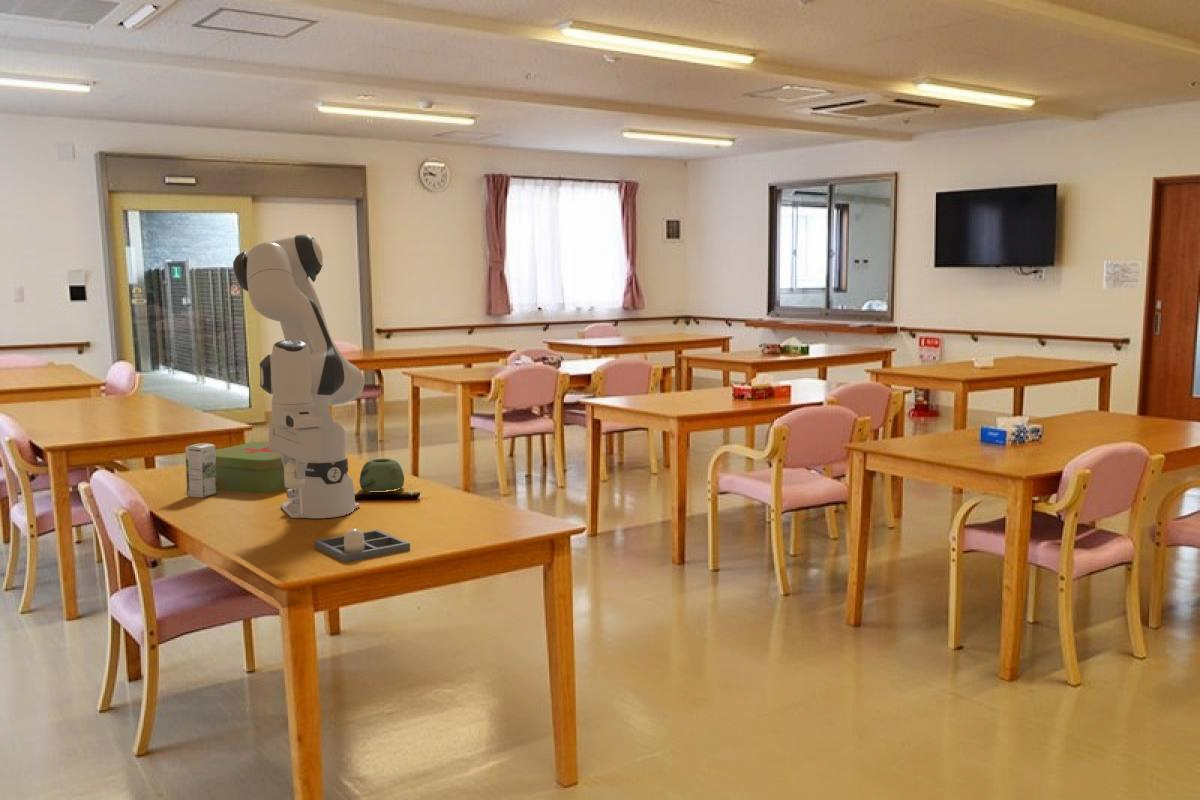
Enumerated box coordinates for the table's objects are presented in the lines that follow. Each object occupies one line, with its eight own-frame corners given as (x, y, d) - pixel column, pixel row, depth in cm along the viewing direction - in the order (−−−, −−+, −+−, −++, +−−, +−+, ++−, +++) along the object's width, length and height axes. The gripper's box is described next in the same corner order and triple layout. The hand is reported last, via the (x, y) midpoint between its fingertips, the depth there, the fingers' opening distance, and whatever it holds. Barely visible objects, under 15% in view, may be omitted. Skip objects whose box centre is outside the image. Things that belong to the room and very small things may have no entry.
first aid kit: (268, 495, 286) (267, 460, 285) (196, 488, 295) (194, 454, 294) (325, 477, 310) (324, 446, 309) (256, 471, 320) (255, 440, 318)
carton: (314, 551, 227) (314, 540, 227) (377, 539, 237) (377, 529, 237) (345, 566, 216) (345, 555, 215) (410, 553, 225) (409, 543, 225)
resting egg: (340, 554, 222) (340, 528, 221) (359, 550, 224) (358, 525, 224) (349, 558, 218) (349, 532, 217) (368, 554, 221) (367, 529, 220)
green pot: (350, 489, 293) (349, 460, 292) (389, 483, 302) (388, 454, 300) (380, 498, 281) (380, 467, 280) (419, 491, 290) (418, 461, 289)
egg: (281, 485, 224) (280, 459, 223) (300, 482, 226) (299, 457, 226) (289, 489, 220) (288, 463, 219) (308, 486, 223) (307, 460, 222)
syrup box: (201, 492, 288) (198, 442, 287) (218, 494, 287) (215, 443, 285) (186, 496, 283) (184, 445, 281) (203, 498, 281) (201, 447, 279)
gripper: (260, 410, 227) (262, 470, 229) (298, 422, 211) (300, 486, 213) (287, 407, 231) (289, 467, 233) (326, 419, 215) (327, 482, 217)
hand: (294, 476), depth 223 cm, fingers closed on egg, 4 cm apart
